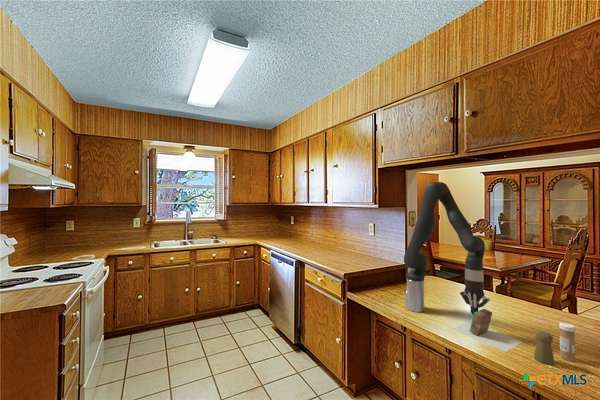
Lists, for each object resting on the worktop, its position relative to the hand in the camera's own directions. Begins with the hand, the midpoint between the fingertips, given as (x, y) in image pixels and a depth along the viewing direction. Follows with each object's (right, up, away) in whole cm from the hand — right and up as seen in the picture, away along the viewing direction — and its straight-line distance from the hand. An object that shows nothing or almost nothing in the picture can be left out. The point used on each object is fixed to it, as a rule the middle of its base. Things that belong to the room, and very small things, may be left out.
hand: (474, 314), depth 129 cm
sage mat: (+2, -8, -4) cm, 9 cm away
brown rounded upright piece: (+12, -8, -23) cm, 28 cm away
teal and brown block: (+1, -7, -1) cm, 7 cm away
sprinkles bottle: (+23, -8, -22) cm, 33 cm away
